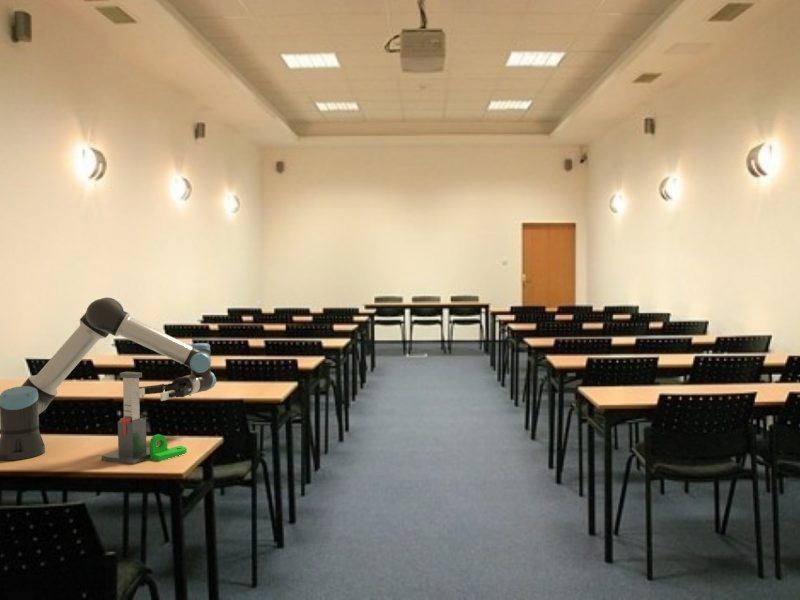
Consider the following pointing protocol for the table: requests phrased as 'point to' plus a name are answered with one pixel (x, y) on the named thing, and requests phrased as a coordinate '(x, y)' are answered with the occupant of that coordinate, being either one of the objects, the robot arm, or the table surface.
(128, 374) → the column
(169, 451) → the mechanical part
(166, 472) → the table surface
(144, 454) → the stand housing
